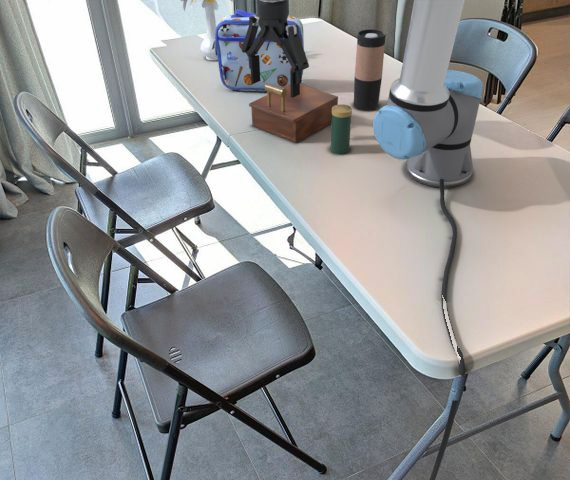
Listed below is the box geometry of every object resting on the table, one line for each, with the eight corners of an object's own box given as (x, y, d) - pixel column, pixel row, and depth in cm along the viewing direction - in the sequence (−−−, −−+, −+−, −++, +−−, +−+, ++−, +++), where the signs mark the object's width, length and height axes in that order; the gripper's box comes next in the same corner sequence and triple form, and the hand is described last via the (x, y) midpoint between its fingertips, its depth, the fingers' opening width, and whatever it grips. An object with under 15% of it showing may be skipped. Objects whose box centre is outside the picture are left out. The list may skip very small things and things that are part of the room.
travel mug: (348, 108, 157) (352, 35, 144) (358, 98, 162) (363, 27, 149) (373, 113, 155) (380, 39, 141) (382, 103, 160) (390, 31, 146)
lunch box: (214, 93, 168) (205, 16, 153) (220, 80, 175) (213, 6, 161) (302, 94, 165) (303, 17, 150) (305, 81, 173) (305, 6, 158)
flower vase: (184, 55, 193) (172, -24, 176) (234, 49, 197) (228, -29, 180) (190, 68, 184) (179, -14, 167) (243, 61, 188) (237, -20, 171)
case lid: (293, 122, 138) (293, 96, 133) (249, 106, 146) (247, 81, 141) (338, 99, 148) (339, 74, 143) (294, 85, 156) (293, 60, 151)
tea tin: (341, 156, 136) (343, 114, 129) (326, 150, 139) (327, 109, 131) (353, 149, 139) (356, 107, 132) (338, 143, 141) (339, 102, 134)
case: (295, 143, 142) (295, 121, 138) (252, 126, 150) (251, 105, 146) (337, 119, 152) (338, 99, 148) (294, 105, 160) (294, 85, 156)
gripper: (325, 3, 121) (322, 96, 135) (245, -15, 133) (250, 72, 147) (303, 11, 116) (302, 106, 131) (223, -8, 129) (230, 81, 143)
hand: (275, 88), depth 139 cm, fingers open, 13 cm apart
